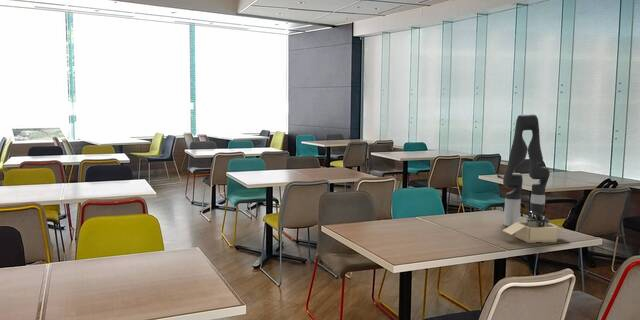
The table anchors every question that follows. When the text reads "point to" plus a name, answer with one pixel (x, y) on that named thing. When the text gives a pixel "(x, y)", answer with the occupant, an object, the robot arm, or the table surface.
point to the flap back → (559, 228)
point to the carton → (537, 233)
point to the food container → (533, 222)
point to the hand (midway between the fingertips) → (536, 231)
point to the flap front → (513, 228)
